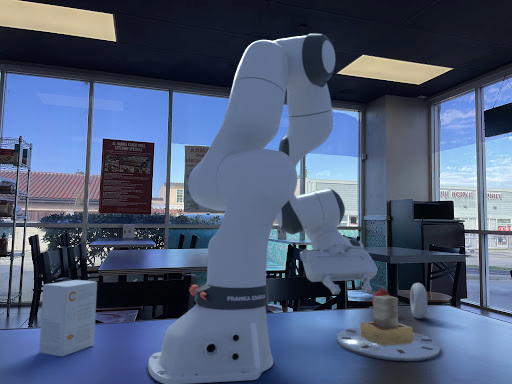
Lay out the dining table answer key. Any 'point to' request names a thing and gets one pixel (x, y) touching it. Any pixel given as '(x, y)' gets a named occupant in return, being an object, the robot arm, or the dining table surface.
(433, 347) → the slotted white disc
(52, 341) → the small box
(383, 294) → the onion
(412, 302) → the donut
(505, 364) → the dining table surface
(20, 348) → the dining table surface
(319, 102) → the robot arm
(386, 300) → the tall beige block
